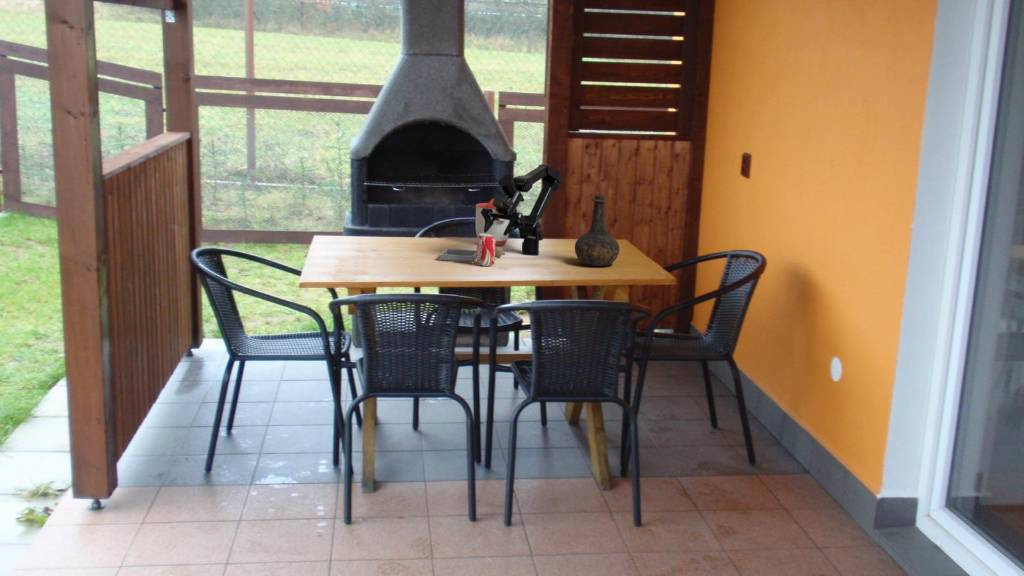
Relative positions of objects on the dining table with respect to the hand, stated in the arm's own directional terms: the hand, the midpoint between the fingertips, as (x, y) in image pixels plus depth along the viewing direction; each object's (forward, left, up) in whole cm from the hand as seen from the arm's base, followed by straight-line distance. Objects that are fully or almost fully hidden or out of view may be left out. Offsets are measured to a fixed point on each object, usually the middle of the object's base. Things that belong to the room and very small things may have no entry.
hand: (494, 233), depth 390 cm
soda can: (+2, +5, -12) cm, 13 cm away
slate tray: (+14, -4, -12) cm, 19 cm away
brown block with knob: (+2, -15, -12) cm, 20 cm away
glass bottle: (-40, -11, -12) cm, 43 cm away
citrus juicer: (+7, -41, -12) cm, 44 cm away
